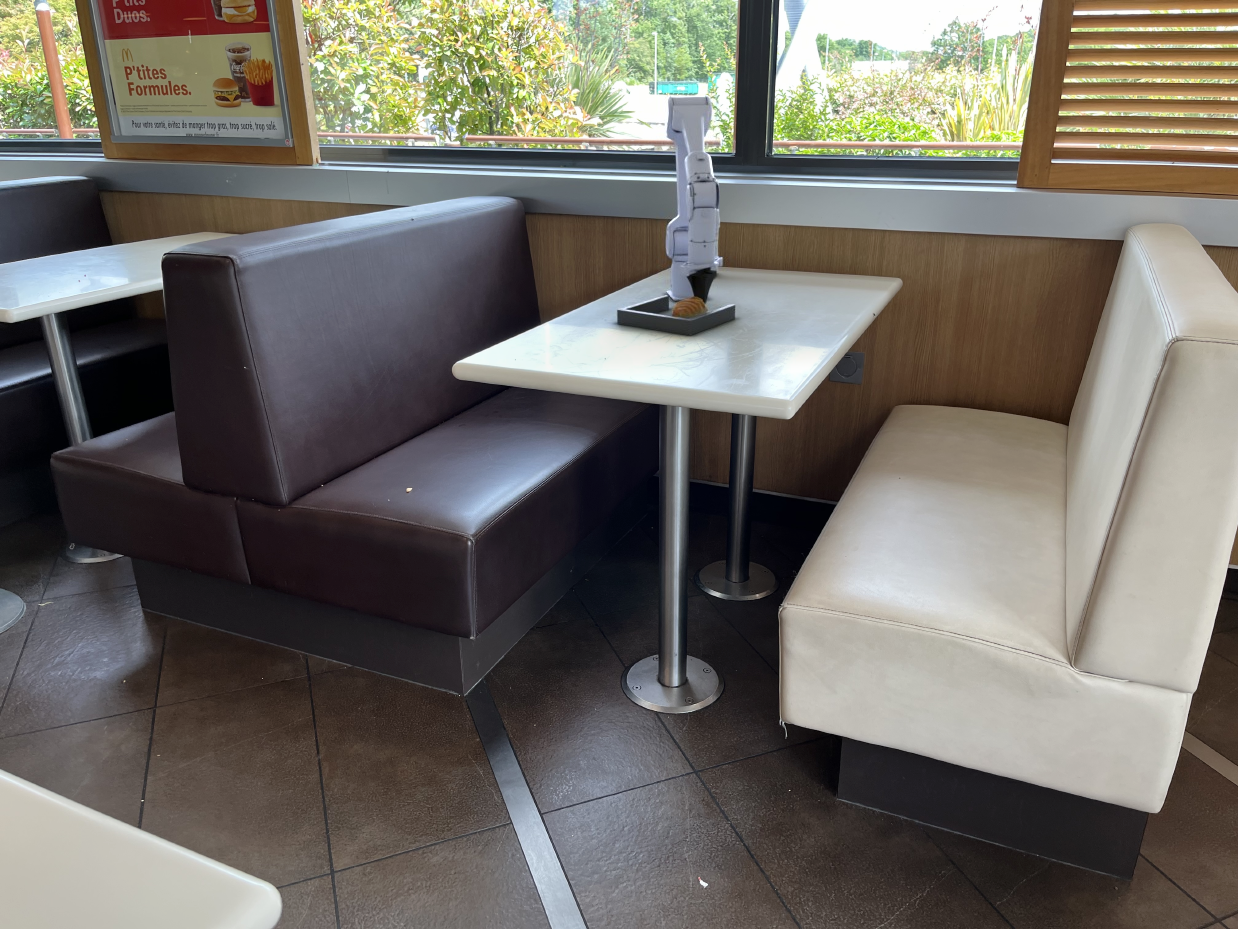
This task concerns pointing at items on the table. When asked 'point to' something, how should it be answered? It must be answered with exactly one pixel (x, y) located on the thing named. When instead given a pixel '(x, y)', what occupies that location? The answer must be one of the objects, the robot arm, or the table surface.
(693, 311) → the pastry
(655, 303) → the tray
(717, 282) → the table surface
